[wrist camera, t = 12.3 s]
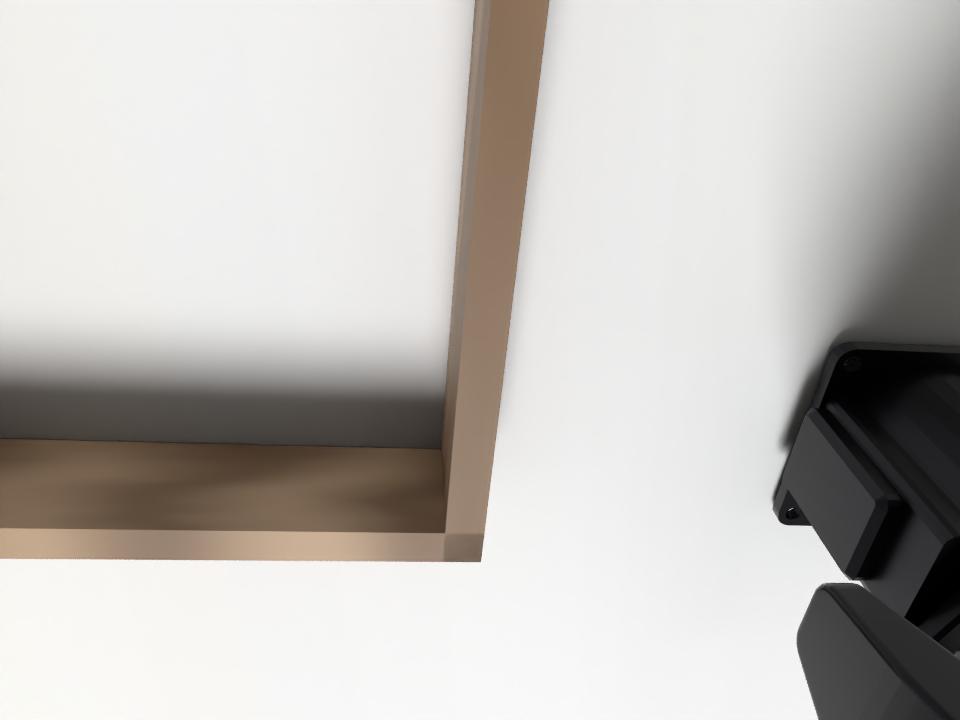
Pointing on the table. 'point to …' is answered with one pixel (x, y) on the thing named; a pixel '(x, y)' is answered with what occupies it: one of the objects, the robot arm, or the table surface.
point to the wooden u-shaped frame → (321, 469)
